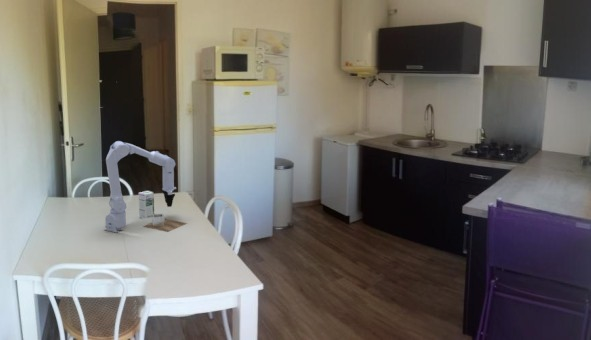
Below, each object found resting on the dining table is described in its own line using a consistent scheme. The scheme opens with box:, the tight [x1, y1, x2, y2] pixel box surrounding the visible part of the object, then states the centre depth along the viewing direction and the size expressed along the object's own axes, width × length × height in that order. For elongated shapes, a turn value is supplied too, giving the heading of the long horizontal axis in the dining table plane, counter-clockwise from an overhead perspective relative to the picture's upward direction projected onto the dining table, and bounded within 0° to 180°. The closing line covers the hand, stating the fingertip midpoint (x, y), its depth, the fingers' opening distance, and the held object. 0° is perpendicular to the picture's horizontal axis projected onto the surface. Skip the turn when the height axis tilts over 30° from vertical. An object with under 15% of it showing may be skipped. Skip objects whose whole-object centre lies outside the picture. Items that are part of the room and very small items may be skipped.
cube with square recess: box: [151, 213, 165, 227], centre depth 247 cm, size 6×6×5 cm
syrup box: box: [138, 190, 155, 220], centre depth 262 cm, size 6×6×14 cm
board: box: [142, 218, 188, 233], centre depth 248 cm, size 16×16×2 cm
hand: (168, 204), depth 257 cm, fingers open, 7 cm apart
